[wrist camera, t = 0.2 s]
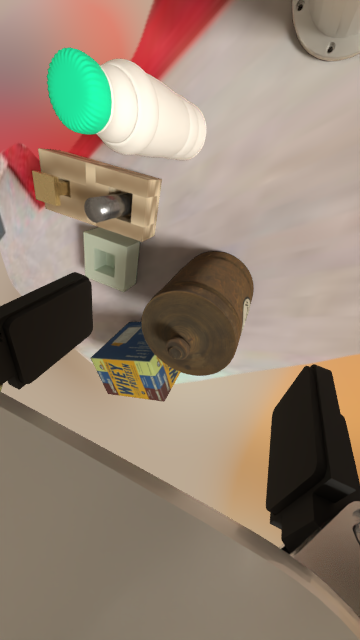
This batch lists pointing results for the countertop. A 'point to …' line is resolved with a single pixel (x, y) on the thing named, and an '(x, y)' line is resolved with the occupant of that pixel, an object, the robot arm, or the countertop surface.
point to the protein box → (133, 366)
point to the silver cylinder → (108, 206)
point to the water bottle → (124, 107)
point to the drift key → (49, 188)
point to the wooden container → (200, 314)
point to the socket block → (104, 191)
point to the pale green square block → (111, 258)
